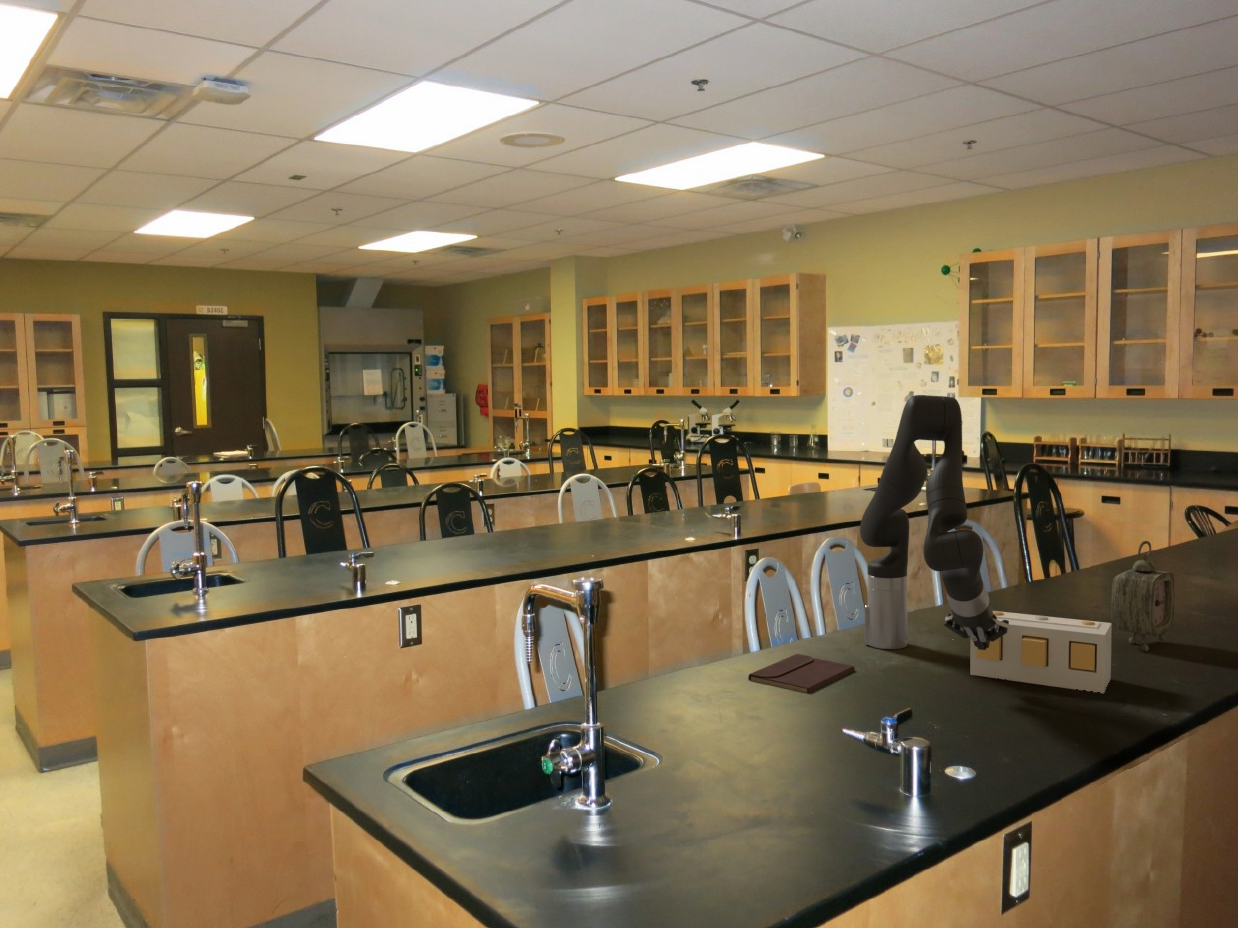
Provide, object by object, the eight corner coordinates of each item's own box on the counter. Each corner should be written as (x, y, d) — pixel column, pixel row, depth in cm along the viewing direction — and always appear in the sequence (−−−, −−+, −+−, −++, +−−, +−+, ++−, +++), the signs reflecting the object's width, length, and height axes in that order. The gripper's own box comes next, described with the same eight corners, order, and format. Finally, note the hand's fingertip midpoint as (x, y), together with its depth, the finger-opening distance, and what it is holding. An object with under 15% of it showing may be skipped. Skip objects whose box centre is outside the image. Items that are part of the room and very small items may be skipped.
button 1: (976, 658, 204) (977, 634, 204) (980, 654, 206) (980, 630, 206) (998, 660, 202) (998, 636, 201) (1001, 657, 204) (1001, 633, 204)
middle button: (1021, 663, 199) (1022, 639, 199) (1024, 660, 202) (1024, 636, 201) (1044, 666, 197) (1044, 642, 196) (1047, 663, 199) (1047, 638, 199)
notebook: (854, 673, 212) (854, 664, 212) (809, 695, 197) (809, 686, 197) (795, 661, 222) (795, 652, 222) (748, 682, 207) (748, 673, 207)
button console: (970, 674, 207) (970, 617, 206) (982, 661, 216) (982, 607, 215) (1103, 693, 193) (1104, 632, 192) (1110, 678, 202) (1111, 620, 201)
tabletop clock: (1149, 654, 219) (1152, 546, 217) (1108, 647, 225) (1110, 542, 223) (1173, 642, 228) (1175, 539, 226) (1133, 636, 235) (1135, 535, 233)
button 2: (1070, 667, 196) (1070, 642, 195) (1072, 663, 198) (1073, 639, 198) (1094, 670, 193) (1094, 645, 193) (1096, 666, 196) (1096, 641, 195)
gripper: (1007, 587, 186) (1019, 634, 198) (938, 580, 194) (953, 627, 205) (1000, 619, 182) (1013, 666, 194) (930, 612, 190) (947, 657, 201)
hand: (982, 646), depth 199 cm, fingers closed
